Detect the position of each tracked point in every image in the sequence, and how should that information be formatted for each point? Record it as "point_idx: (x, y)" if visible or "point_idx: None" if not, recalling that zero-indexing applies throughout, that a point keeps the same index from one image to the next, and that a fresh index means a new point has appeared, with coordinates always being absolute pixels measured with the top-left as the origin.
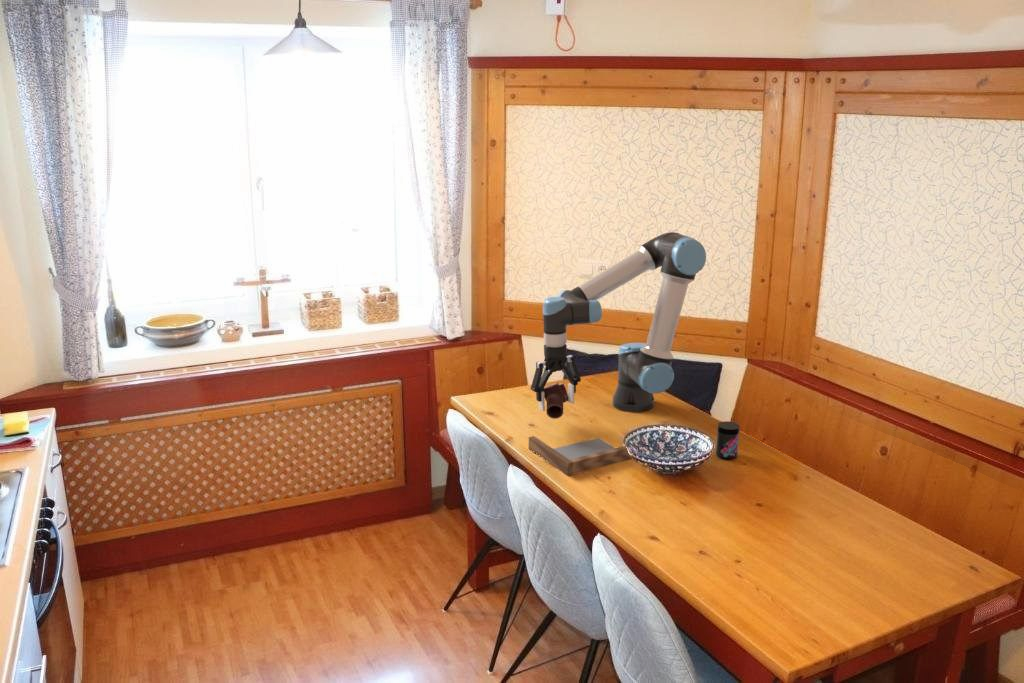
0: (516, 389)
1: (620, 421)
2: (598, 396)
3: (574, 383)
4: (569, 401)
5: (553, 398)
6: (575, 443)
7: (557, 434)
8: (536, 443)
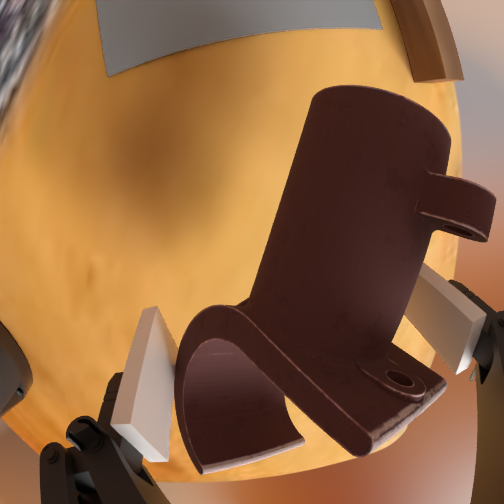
0: (265, 475)
1: (2, 247)
2: (71, 419)
3: (101, 441)
4: (170, 339)
5: (444, 193)
6: (237, 36)
7: (279, 171)
8: (445, 20)
